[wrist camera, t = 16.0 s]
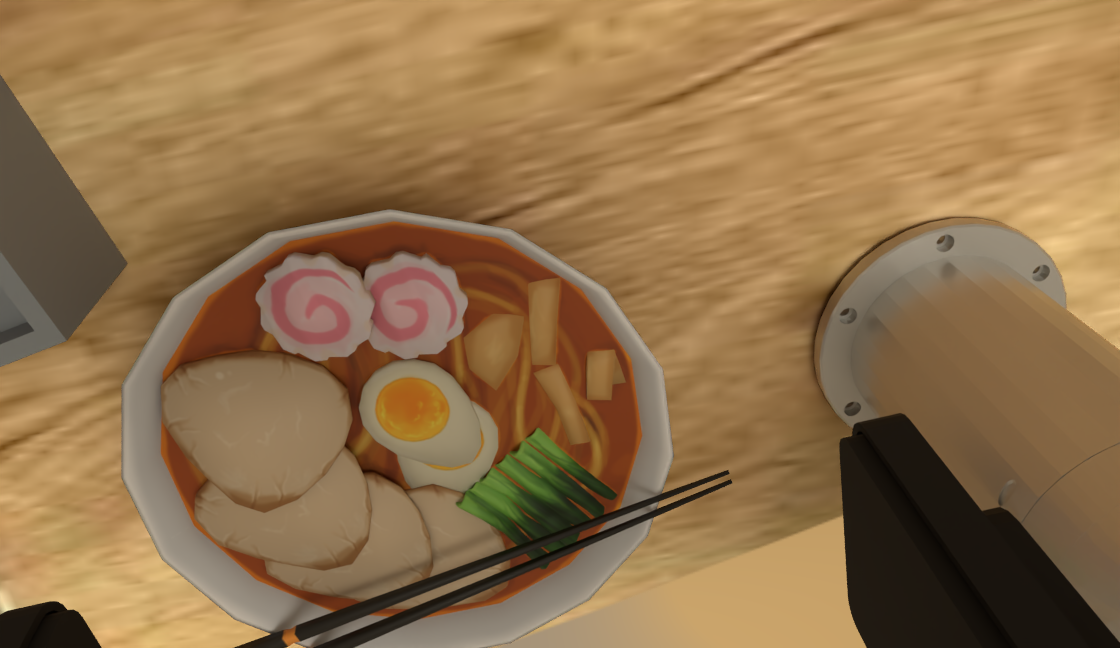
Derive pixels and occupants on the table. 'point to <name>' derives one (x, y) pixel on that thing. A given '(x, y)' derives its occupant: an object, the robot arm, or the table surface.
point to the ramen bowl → (396, 435)
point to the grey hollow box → (44, 242)
